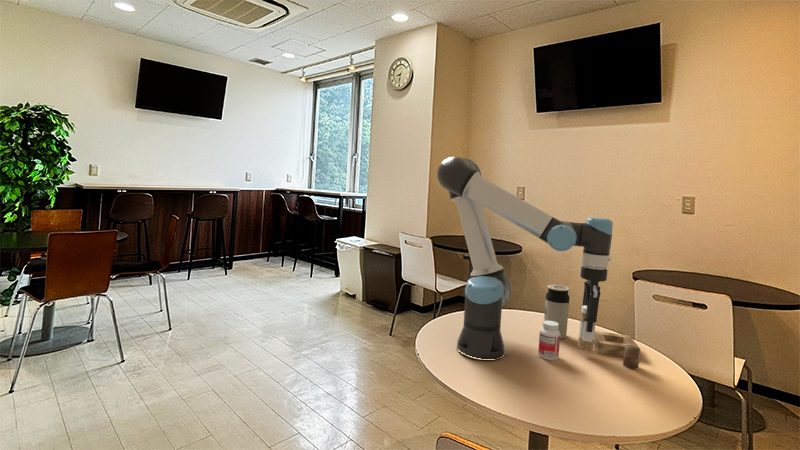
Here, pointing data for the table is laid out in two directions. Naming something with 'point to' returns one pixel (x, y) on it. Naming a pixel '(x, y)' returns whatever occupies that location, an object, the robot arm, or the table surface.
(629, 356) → the walnut stub
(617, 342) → the oak collar
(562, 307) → the travel mug
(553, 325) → the pill bottle
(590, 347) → the sprinkles bottle
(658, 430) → the table surface
